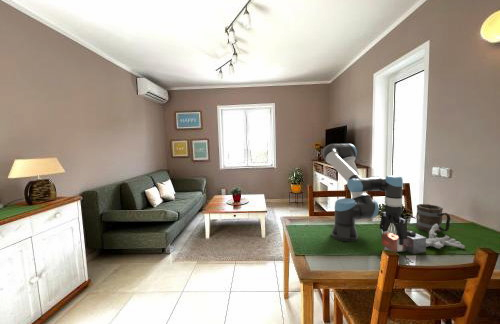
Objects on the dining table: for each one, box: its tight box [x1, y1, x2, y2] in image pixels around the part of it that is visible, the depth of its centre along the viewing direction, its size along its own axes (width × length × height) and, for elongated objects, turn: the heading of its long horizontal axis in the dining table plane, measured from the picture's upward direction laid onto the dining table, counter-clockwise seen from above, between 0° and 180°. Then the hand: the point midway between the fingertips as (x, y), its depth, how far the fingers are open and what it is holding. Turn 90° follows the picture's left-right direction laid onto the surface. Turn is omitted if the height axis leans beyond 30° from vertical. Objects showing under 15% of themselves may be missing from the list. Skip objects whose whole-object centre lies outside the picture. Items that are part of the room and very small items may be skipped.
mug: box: [415, 203, 451, 233], centre depth 143 cm, size 20×14×15 cm
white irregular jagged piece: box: [426, 224, 466, 250], centre depth 124 cm, size 19×8×20 cm
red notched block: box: [381, 232, 404, 251], centre depth 117 cm, size 6×8×6 cm
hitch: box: [383, 230, 427, 255], centre depth 118 cm, size 20×10×10 cm, turn 102°
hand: (392, 246), depth 117 cm, fingers closed on red notched block, 8 cm apart
